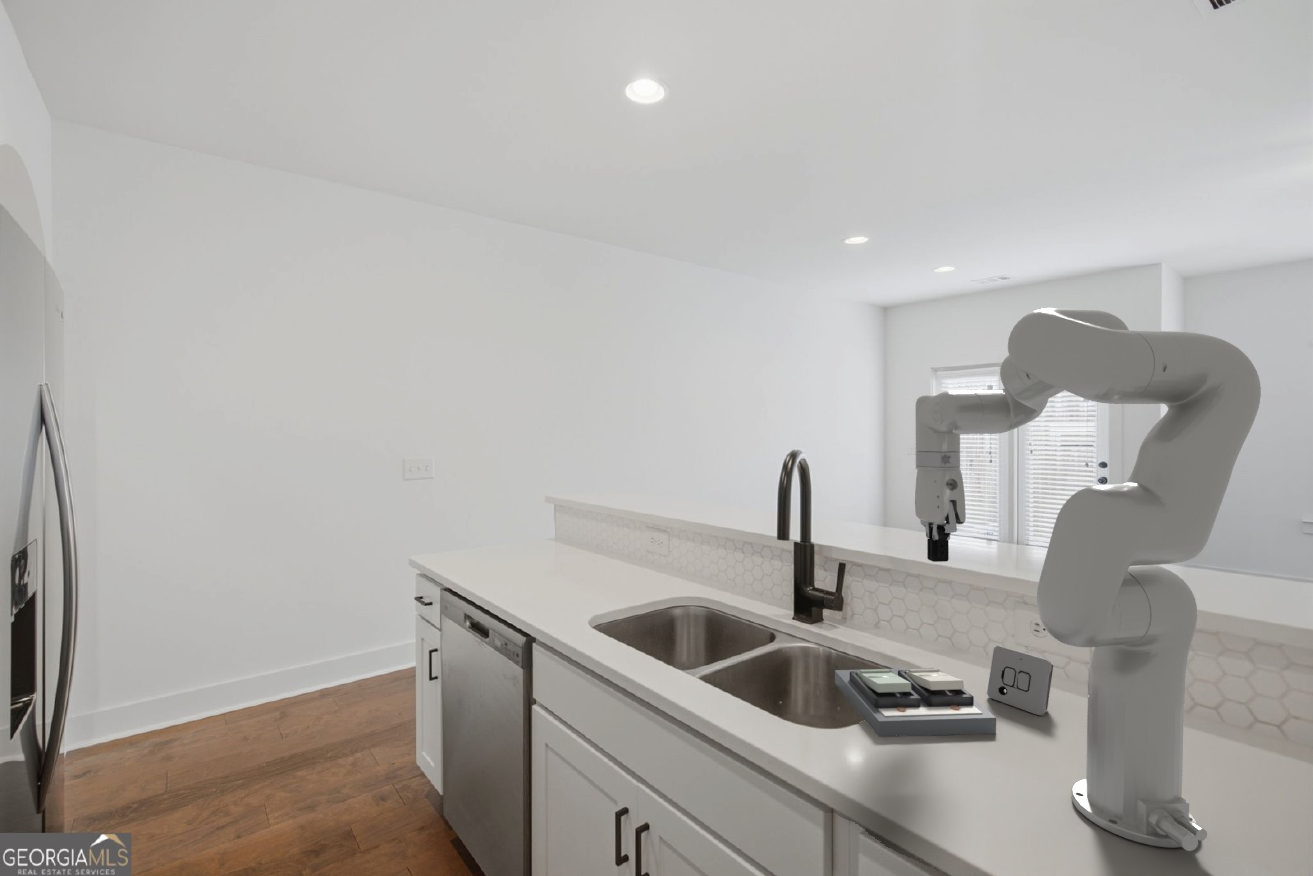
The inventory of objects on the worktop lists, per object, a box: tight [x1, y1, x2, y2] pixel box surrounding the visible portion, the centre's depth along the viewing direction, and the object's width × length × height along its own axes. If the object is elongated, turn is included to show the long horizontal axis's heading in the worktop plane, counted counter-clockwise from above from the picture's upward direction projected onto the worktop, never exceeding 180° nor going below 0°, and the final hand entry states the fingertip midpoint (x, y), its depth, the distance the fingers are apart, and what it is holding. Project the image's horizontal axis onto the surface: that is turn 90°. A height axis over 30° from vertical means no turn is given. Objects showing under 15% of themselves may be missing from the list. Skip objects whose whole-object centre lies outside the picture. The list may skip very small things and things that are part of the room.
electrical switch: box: [986, 645, 1054, 717], centre depth 110 cm, size 9×5×9 cm, turn 35°
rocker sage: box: [858, 668, 912, 692], centre depth 108 cm, size 9×6×2 cm, turn 4°
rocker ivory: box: [906, 668, 965, 690], centre depth 109 cm, size 9×6×2 cm, turn 3°
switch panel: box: [834, 667, 997, 738], centre depth 108 cm, size 20×19×4 cm
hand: (937, 560), depth 116 cm, fingers closed
